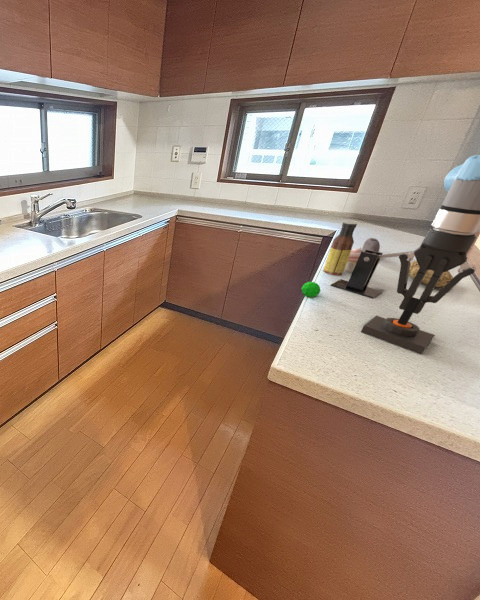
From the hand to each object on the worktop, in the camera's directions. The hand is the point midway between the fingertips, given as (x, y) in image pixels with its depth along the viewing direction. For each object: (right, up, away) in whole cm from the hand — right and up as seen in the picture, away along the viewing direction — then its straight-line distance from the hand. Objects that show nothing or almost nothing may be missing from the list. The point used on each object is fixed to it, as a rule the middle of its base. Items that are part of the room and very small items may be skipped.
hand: (402, 322), depth 82 cm
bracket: (+12, +9, +29) cm, 32 cm away
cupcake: (+24, +17, +45) cm, 53 cm away
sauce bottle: (+15, +16, +42) cm, 47 cm away
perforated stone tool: (+49, +26, +65) cm, 85 cm away
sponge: (+47, +13, +39) cm, 62 cm away
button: (0, -2, +1) cm, 2 cm away
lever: (+16, +19, +18) cm, 31 cm away
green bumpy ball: (-7, +7, +24) cm, 26 cm away
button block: (0, -4, +2) cm, 5 cm away
